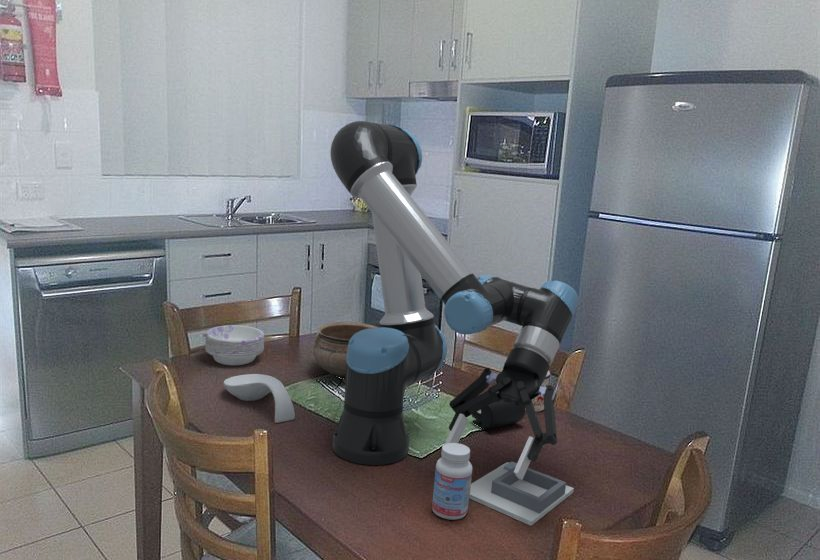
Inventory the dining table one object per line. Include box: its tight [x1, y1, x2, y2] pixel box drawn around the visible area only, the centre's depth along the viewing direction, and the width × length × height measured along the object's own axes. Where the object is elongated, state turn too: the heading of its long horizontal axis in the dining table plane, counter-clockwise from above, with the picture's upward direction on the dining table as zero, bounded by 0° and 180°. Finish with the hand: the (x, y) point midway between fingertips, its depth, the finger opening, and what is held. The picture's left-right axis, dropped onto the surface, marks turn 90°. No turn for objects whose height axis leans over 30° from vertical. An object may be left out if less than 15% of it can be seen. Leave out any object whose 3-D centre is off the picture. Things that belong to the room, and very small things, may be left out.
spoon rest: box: [223, 373, 296, 424], centre depth 151 cm, size 24×12×7 cm, turn 39°
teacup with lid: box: [525, 370, 552, 413], centre depth 163 cm, size 12×9×12 cm
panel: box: [469, 461, 575, 527], centre depth 119 cm, size 14×16×3 cm
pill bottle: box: [431, 442, 473, 521], centre depth 110 cm, size 6×6×11 cm
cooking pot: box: [312, 321, 378, 379], centre depth 173 cm, size 25×19×12 cm
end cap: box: [471, 392, 526, 431], centre depth 149 cm, size 10×7×7 cm
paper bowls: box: [204, 324, 265, 366], centre depth 179 cm, size 15×15×8 cm
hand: (481, 462), depth 112 cm, fingers open, 13 cm apart
